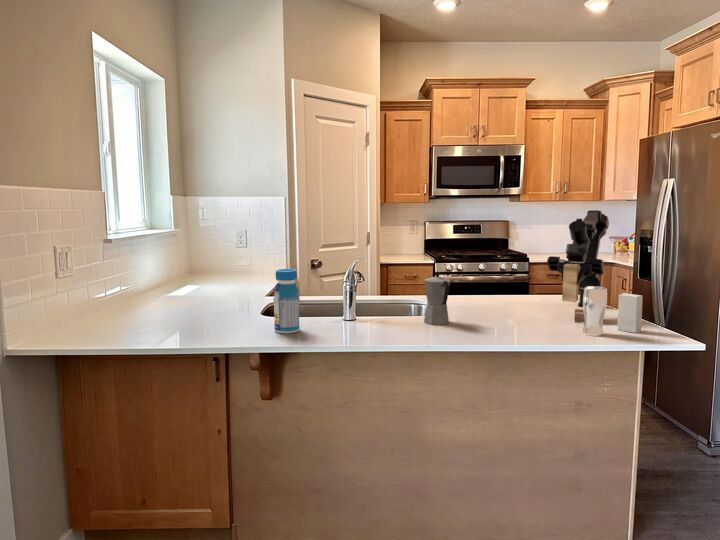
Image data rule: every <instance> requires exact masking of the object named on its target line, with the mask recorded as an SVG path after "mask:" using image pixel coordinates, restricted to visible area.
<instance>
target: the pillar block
mask: <svg viewBox="0 0 720 540" xmlns="http://www.w3.org/2000/svg"><path fill="white" fill-rule="evenodd" d="M579 273H580V265H579V264H566V265H564V272H563V282H562V295H561V301H562V302H568V303H576V302H578V301H579V295H580V291H579V284H578V285H577V279H578V276H579Z"/></svg>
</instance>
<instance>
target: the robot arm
mask: <svg viewBox="0 0 720 540" xmlns="http://www.w3.org/2000/svg"><path fill="white" fill-rule="evenodd" d="M609 226H610V221H609V218H608V216H607V215H605V214H604V213H603V212H602V210H597V209H593V210H591V209H590V210H588V211H587V213H586V216H585V217H584V218H576V220H574V221H571V223H569V225H568V229H569V234H570V239H571V241H572V243H567V244H566V249H565V253H566V255H565V257H566V260H565V259H563V258H561V257H560V256H553V255H550V256H548V257H547V259H546V262H547V266H548V269H549V271H551V272H552V271H553V272H558V273H559V274H561V283H563V272H564V265H566V264H579V265H580V273H579V276H578V279H577V285H578V284H579V297H578V301H579V302H578V303H577V306H578V307H582V308H583V295H584V287H586V286H598V287H602V286H601V281H600V278H599V275H603V274H604V271H605V265H604V260H603V259H602V258H598V255H599V250H600V245H601V239H602V238H603V237H604V236H605V235H606V234H607V230H608V229H609Z"/></svg>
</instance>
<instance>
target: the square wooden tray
mask: <svg viewBox="0 0 720 540" xmlns="http://www.w3.org/2000/svg"><path fill="white" fill-rule="evenodd" d="M574 320H575V321H574V323H580V322H585V319H584V310H583V308H574Z"/></svg>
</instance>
